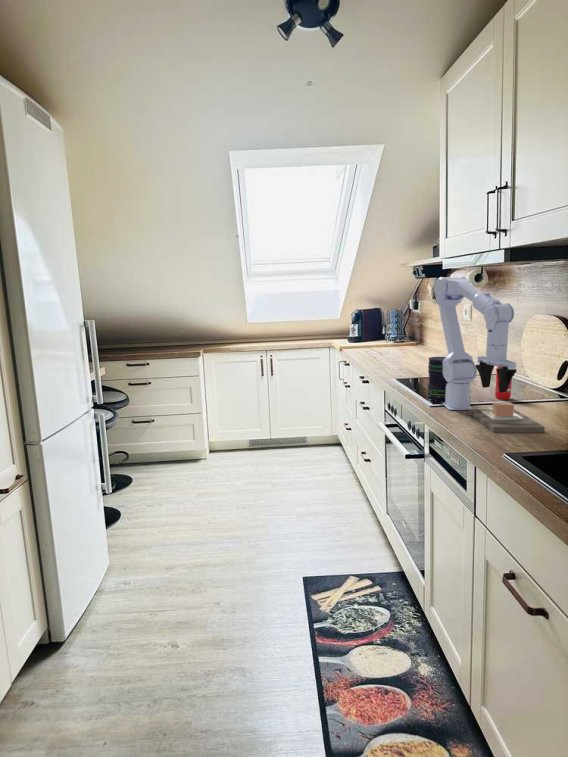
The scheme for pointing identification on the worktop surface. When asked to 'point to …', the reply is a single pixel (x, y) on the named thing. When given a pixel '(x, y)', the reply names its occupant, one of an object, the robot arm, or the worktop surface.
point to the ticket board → (506, 422)
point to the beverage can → (502, 394)
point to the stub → (503, 412)
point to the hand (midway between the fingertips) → (494, 389)
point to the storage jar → (436, 379)
